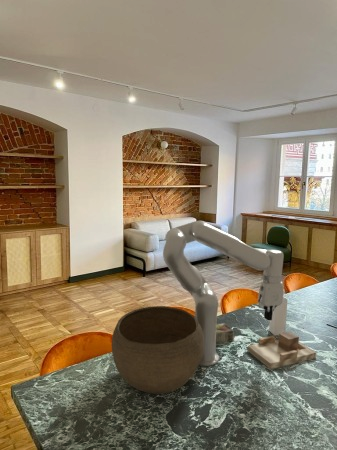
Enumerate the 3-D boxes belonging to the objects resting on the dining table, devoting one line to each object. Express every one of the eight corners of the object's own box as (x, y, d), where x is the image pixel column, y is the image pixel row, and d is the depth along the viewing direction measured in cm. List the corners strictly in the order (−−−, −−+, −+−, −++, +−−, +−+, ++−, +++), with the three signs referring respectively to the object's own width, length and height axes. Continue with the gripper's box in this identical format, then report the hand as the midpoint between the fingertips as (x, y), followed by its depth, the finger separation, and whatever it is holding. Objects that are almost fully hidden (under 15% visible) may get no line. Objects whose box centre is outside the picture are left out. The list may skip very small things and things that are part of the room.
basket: (215, 370, 139) (219, 315, 133) (173, 429, 109) (175, 362, 104) (145, 343, 156) (145, 294, 151) (92, 388, 127) (90, 329, 121)
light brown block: (288, 352, 149) (289, 339, 148) (278, 346, 154) (279, 333, 153) (297, 349, 152) (298, 336, 151) (287, 343, 157) (288, 331, 156)
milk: (274, 336, 170) (276, 294, 166) (268, 330, 176) (270, 290, 172) (285, 334, 171) (288, 293, 168) (279, 329, 177) (281, 289, 174)
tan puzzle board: (270, 369, 140) (270, 357, 139) (247, 350, 155) (248, 340, 154) (316, 357, 149) (316, 347, 149) (290, 341, 164) (291, 331, 163)
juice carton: (226, 332, 174) (226, 320, 173) (235, 341, 165) (236, 329, 164) (190, 337, 167) (190, 326, 167) (198, 347, 158) (198, 335, 157)
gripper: (263, 282, 138) (259, 324, 140) (291, 280, 143) (287, 320, 146) (252, 277, 145) (248, 317, 147) (280, 275, 150) (276, 314, 153)
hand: (267, 319), depth 147 cm, fingers closed
